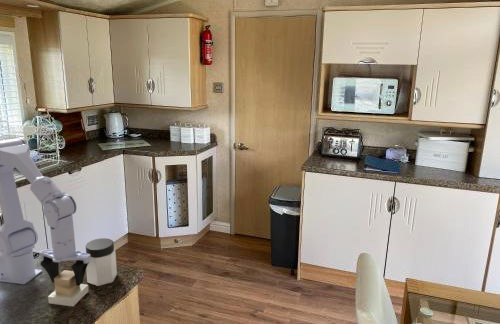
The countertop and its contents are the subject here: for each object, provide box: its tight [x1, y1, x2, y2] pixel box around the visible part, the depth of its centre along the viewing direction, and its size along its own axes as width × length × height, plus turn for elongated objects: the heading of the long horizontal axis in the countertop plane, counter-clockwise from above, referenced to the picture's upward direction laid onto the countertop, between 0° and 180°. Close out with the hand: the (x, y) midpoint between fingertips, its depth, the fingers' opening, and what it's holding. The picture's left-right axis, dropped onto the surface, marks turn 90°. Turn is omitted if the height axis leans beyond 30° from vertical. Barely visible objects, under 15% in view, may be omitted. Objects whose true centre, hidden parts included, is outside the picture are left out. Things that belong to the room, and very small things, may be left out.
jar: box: [85, 237, 118, 287], centre depth 117 cm, size 9×8×12 cm
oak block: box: [53, 269, 80, 296], centre depth 107 cm, size 4×4×5 cm
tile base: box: [47, 283, 89, 307], centre depth 108 cm, size 8×8×2 cm
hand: (67, 282), depth 107 cm, fingers open, 7 cm apart
